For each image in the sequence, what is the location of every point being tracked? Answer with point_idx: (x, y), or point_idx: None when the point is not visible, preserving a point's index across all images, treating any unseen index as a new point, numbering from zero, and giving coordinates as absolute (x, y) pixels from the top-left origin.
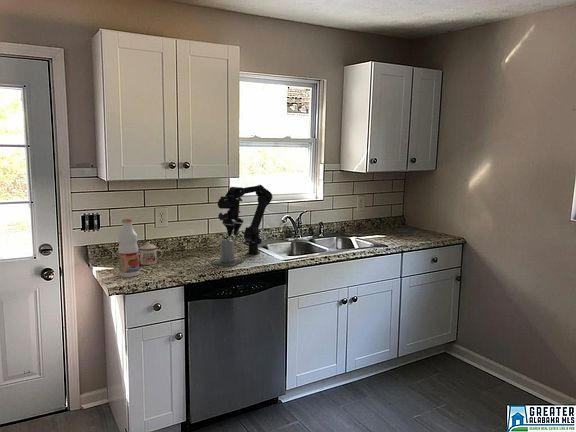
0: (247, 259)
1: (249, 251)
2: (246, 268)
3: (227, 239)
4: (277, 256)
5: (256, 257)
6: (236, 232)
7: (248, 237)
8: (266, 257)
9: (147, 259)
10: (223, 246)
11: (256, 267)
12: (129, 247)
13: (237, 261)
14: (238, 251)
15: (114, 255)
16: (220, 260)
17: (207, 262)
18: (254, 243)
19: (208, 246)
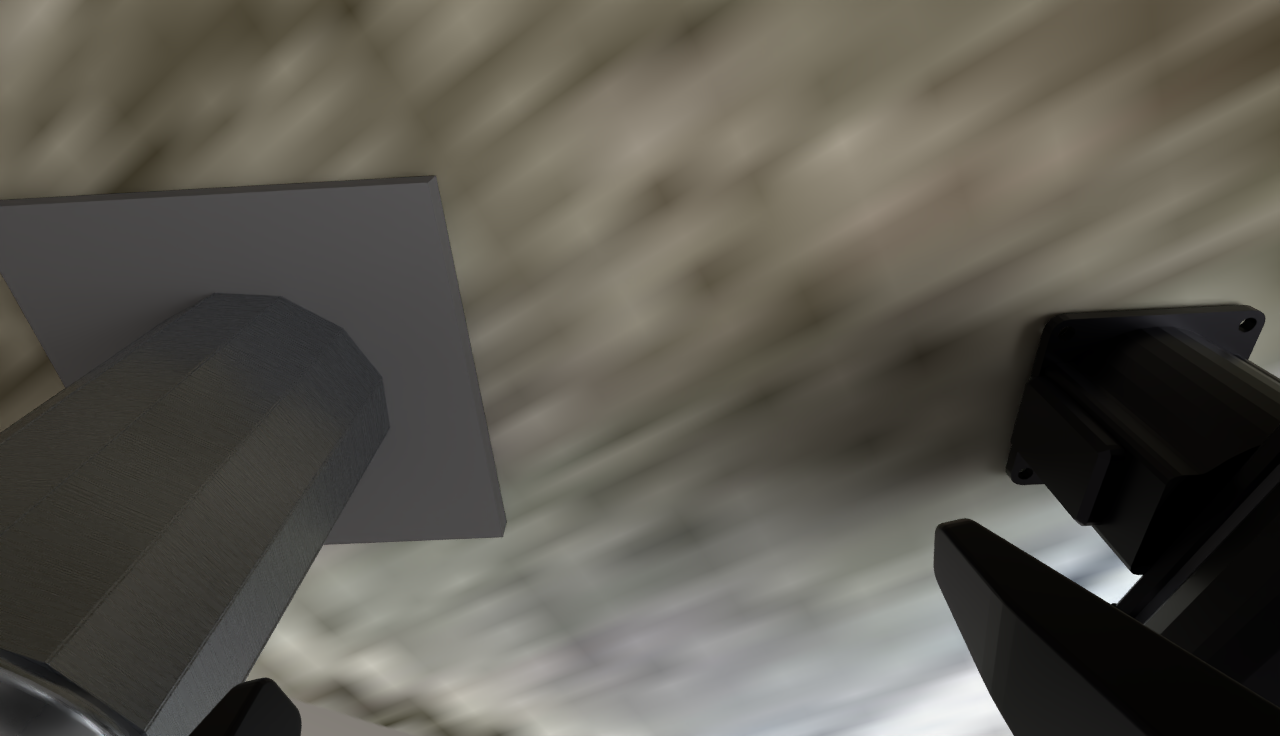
0: (663, 502)
1: (1040, 407)
2: (263, 670)
3: (18, 731)
4: (974, 699)
5: (833, 544)
6: (1004, 713)
7: (1217, 651)
8: (878, 633)
9: None
10: None
11: (375, 720)
12: None
13: (395, 501)
14: (1265, 46)
15: None
16: (249, 243)
17: (29, 16)
18: (1135, 604)
19: None
